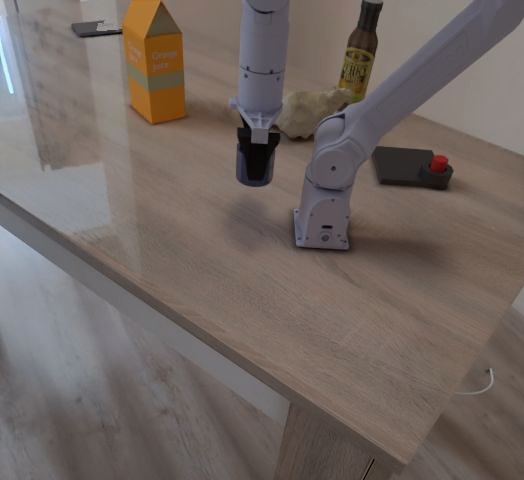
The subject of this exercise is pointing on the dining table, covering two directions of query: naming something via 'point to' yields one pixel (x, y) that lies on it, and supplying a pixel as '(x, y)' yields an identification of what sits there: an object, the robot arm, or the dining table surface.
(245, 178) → the blue plastic cup
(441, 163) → the button
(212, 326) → the dining table surface
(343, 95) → the ginger root
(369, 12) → the sauce bottle
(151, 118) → the orange juice
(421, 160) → the scale
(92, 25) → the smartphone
